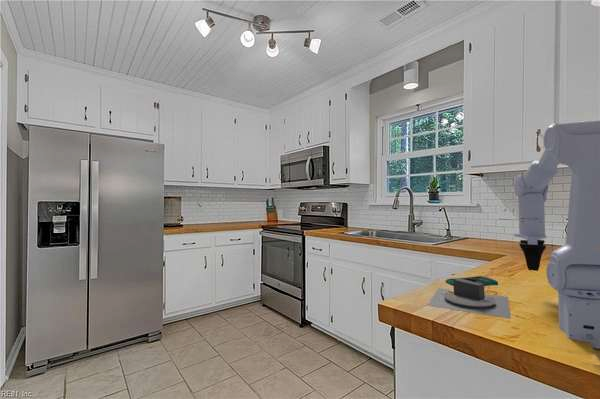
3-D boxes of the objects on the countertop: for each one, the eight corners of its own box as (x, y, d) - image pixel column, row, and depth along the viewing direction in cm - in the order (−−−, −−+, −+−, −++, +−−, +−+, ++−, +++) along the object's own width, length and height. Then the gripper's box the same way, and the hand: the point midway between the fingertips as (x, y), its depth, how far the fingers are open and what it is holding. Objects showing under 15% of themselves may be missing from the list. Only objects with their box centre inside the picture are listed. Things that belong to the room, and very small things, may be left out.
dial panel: (510, 323, 69) (510, 317, 69) (427, 309, 79) (427, 304, 79) (508, 301, 84) (508, 296, 84) (438, 291, 94) (438, 287, 94)
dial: (504, 302, 79) (503, 283, 79) (478, 311, 73) (478, 290, 73) (460, 291, 90) (460, 274, 90) (435, 298, 84) (434, 280, 84)
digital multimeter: (443, 286, 101) (443, 278, 101) (481, 283, 104) (481, 274, 104) (459, 293, 94) (459, 283, 94) (499, 289, 97) (499, 280, 97)
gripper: (514, 217, 92) (516, 261, 92) (512, 219, 80) (514, 270, 80) (544, 217, 88) (545, 264, 87) (547, 220, 76) (548, 274, 76)
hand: (533, 267), depth 83 cm, fingers open, 7 cm apart
